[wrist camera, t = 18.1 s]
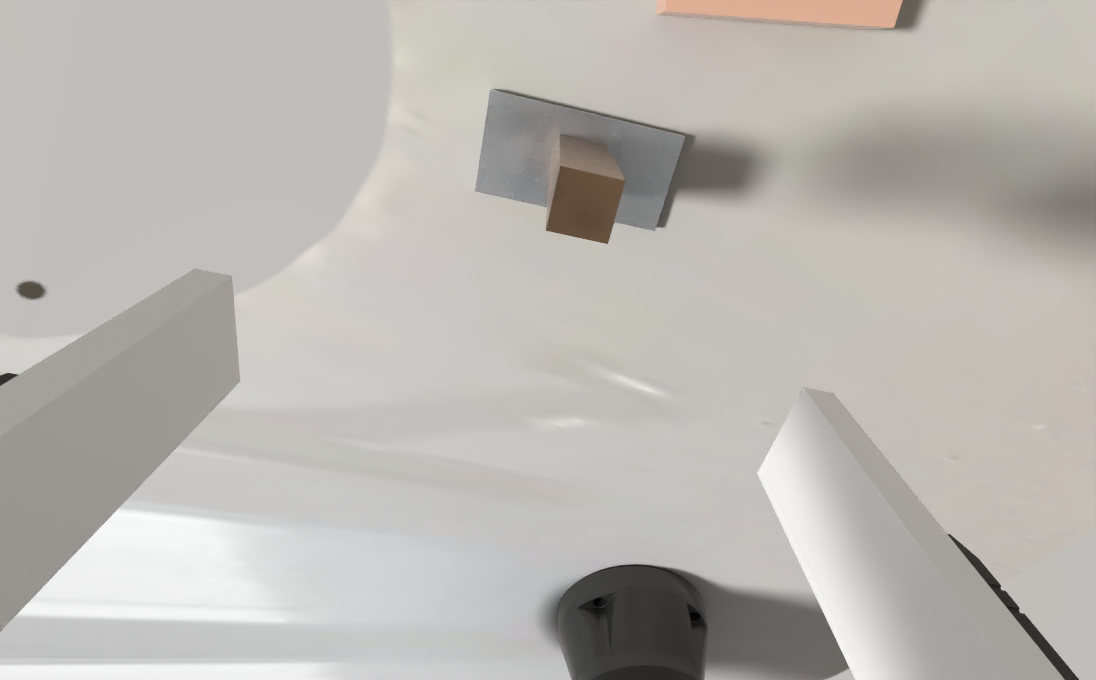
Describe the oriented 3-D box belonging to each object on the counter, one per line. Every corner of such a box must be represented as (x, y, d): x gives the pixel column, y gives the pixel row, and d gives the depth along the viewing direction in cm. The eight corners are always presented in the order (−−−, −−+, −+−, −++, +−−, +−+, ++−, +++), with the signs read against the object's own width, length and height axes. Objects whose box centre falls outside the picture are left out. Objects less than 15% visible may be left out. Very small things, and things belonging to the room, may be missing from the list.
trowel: (682, 134, 33) (733, 169, 23) (652, 226, 36) (687, 291, 26) (492, 88, 32) (463, 105, 22) (477, 187, 35) (446, 240, 25)
